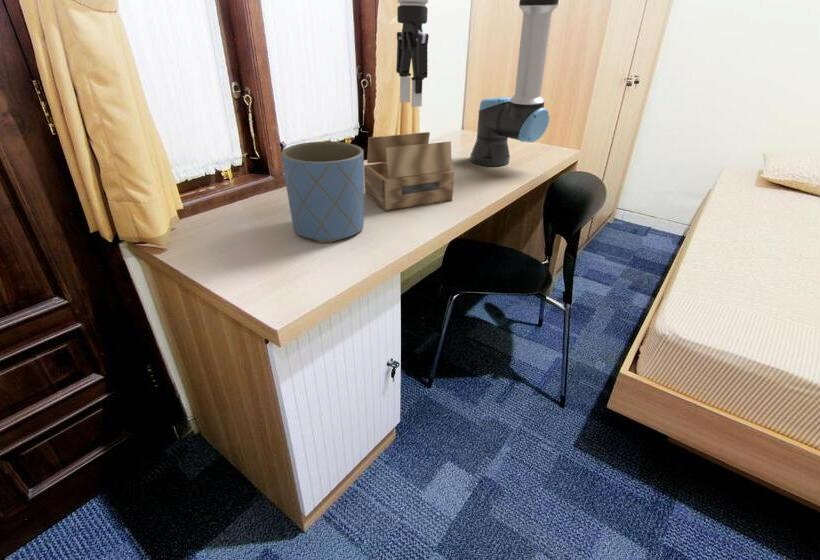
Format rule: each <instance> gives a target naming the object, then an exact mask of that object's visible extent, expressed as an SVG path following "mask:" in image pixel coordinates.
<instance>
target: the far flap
mask: <svg viewBox="0 0 820 560" xmlns="http://www.w3.org/2000/svg"><path fill="white" fill-rule="evenodd" d="M430 135H431V133H430V131H428V132H427V131H426V132H424V131H423V132H414V133H402V134H393V135H392V134H391V135H382V136H369V137H368V139H367V158H366V159H367V160H366V161H367V163H366V164H377V163H386V162H387V158H386V148H391V147H401V146H411V145H421V144H429V140H430Z"/></svg>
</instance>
